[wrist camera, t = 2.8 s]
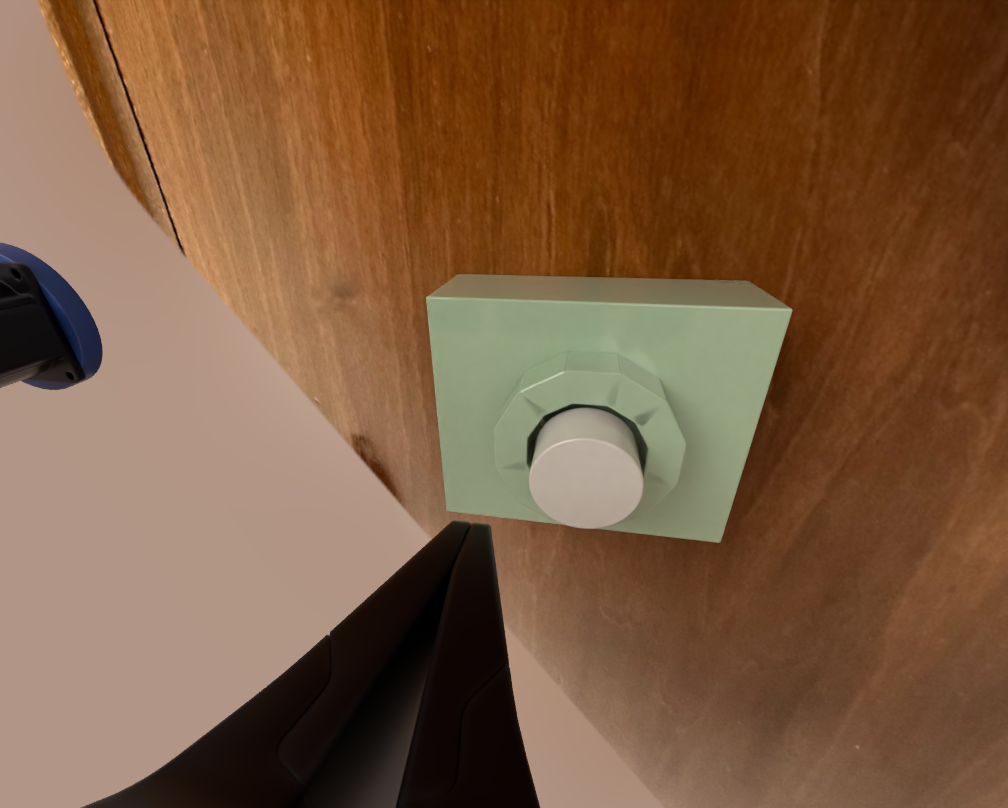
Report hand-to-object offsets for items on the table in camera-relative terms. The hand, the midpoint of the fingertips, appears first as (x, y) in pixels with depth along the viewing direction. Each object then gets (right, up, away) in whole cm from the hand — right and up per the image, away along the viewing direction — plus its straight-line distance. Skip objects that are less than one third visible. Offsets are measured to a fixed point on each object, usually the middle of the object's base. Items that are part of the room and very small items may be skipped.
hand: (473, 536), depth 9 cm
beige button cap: (+4, +1, +6) cm, 7 cm away
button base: (+5, +4, +11) cm, 12 cm away
